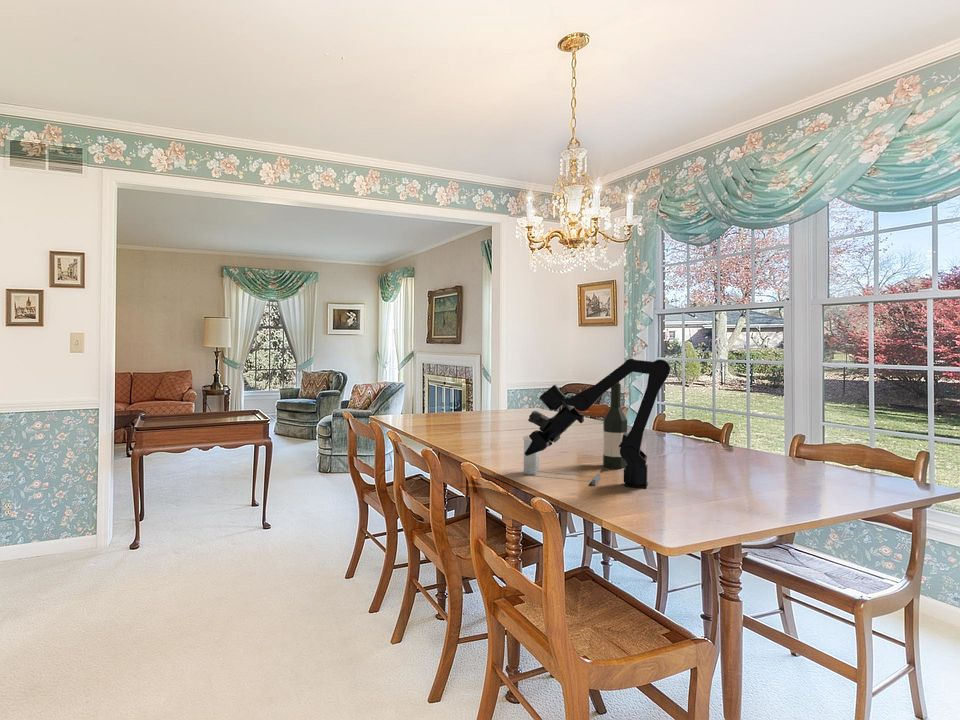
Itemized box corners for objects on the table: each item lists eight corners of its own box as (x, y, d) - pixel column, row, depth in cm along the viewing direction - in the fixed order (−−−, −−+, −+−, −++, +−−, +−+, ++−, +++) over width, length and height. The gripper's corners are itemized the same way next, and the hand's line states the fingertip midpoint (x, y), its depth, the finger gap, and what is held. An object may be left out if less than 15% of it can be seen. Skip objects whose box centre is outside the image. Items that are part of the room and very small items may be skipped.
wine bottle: (598, 464, 199) (599, 380, 198) (618, 463, 201) (619, 380, 200) (610, 469, 191) (611, 382, 190) (631, 468, 193) (632, 381, 192)
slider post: (539, 472, 182) (540, 435, 182) (536, 475, 178) (536, 437, 178) (526, 471, 184) (527, 434, 184) (522, 473, 180) (523, 436, 180)
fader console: (600, 478, 177) (600, 473, 177) (595, 485, 169) (595, 479, 169) (530, 472, 186) (530, 467, 186) (522, 478, 178) (522, 472, 177)
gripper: (551, 400, 188) (519, 431, 192) (535, 406, 170) (501, 439, 175) (574, 425, 185) (541, 455, 189) (560, 433, 168) (525, 466, 172)
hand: (527, 453), depth 181 cm, fingers closed on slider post, 4 cm apart
